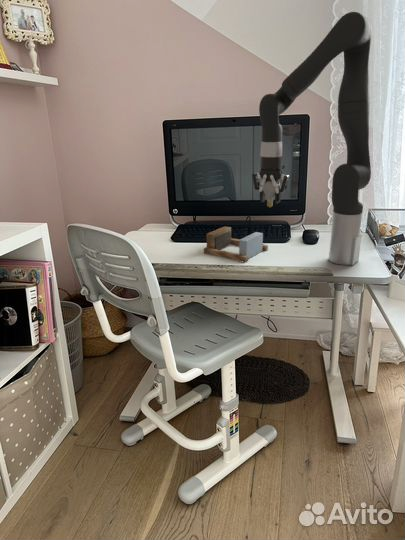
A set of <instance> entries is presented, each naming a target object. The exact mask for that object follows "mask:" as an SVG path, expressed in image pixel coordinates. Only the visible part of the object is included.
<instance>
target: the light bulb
mask: <svg viewBox="0 0 405 540" xmlns="http://www.w3.org/2000/svg"><path fill="white" fill-rule="evenodd" d="M276 184H277V183H276ZM263 191H264V193H265V198H266V206H267V207H268V208H272V207H273V204H274V199H275V193H276V191H275V187H273V183H272V182H270V181H267V182H265V184H264V186H263Z"/></svg>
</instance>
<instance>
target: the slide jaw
mask: <svg viewBox="0 0 405 540" xmlns="http://www.w3.org/2000/svg"><path fill="white" fill-rule="evenodd" d="M263 241H264V232H257V231H254V232H253V233H251V234H249V235H246V236H245V237H242V238H240V239H239V246H238V249H239V250H238V252H239V253H238V254H240V255H245V256H248V260H249V259H250V258H253V257H254V256H256V255H257V254H259V253H261V252H263V251H262V249H263V244H264V242H263Z"/></svg>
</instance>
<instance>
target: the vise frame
mask: <svg viewBox="0 0 405 540" xmlns="http://www.w3.org/2000/svg"><path fill="white" fill-rule="evenodd" d="M239 240H240V239H238V238H232V227H231V226H222V227H219V228H217V229H216V230H213V231H210V232H208V233H206V247H203V254H204V255H205V254H206V255H209V256H214V257H217V258H223V259H227V260H232V261H236V260H237V262H240V261H243V262H242V263H245V262H246V263H248V262H249V259H248V256H245V255H240V254H239V253H236V252H230V251H226V250H223V249H225V248H228V247H230V246H237V247H239ZM268 248H269V244H265V243H263V249H262V251H261V252H267V251H268V250H269V249H268ZM247 261H248V262H247Z"/></svg>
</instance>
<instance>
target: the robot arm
mask: <svg viewBox="0 0 405 540" xmlns="http://www.w3.org/2000/svg"><path fill="white" fill-rule="evenodd" d="M372 35H373V26H372V23H371V21H370V19H369V18H368V17H366V16H365V15H364V14H362V13H360V12H358V11H350V12H347V13H345V14H344V15H342V16H341V17H340V18H339V20H337V22H336V23H335V24H334V25H333V27H332V28H331V30H330V31H329V32H328V33H327V34H326V36H325V37H324V38H323V39H322V41H321V42H320V43H319V44H318V45H317V46H316V47H315V49H314V50H313V51H312V52H311V53H310V54H309V56H307V57H306V58H305V60H303V61H302V62H301V63H300V64H299V65H298V66H297V67H296V68H295V69H294V70H293V71H292V72H291V73H289V75H288V76H287V77H286V78H285V79H283V81H282V83H281V86H280V88H279V89H277V91H276V92H275V93H267V94H265V95H264V96H262V98H261V99H260V102H259V105H258V106H259V107H258V108H259V109H258V110H259V113H258V114H259V119H260V124H261V128H262V129H261V145H260V171H259V172H254V173H252V176H251V177H252V181H253V186H254V190H255V191H259V201H260V202H261V203H264V202H266V195H265V193H264V191H263V186H264V184H265V182H267V181H270V182H272V183H273V187H275V191H276V193H275V196H274V204H279V203H280V202H281V200H282V198H281V197H282V193H284V192H285V191H286V190H287V188H288V185H289V181H290V174H284V173H283V172H282V166H283V165H282V164H283V125H282V124H280V119H279V115H282V114H283V113H285V112H286V111H287V110H288V109H289V107H290V106H291V105H292V104H293V103H294V102H295V100H296V99H297V98H298V97H299V96H300V95H302V94H303V93H304V92H305V91H306V90H307V89H308V88H309V87H310V86H311V85H312V84H314V82H315V81H316V80H317V79H318V78H319V77H320V75H321V74H322V72H323V71H324V70H325V69H326V67H328V65H329V64H330V63H331V62H332V61H333V60H334V59H336V57H338V56H339V55H341V54H342V53H343V75H342V79H341V83H340V87H339V90H338V98H337V121H338V125H339V127H340V130H341V133H342V136H343V139H344V141H345V144H346V145H345V146H346V153H347V154H346V162H344V163H343V164H341V165H338V166H337V167H336V169H334V170H335V171H334V172H333V176H332V183H331V204H332V207H333V210H332V218H331V219H332V220H331V229H330V230H331V231H330V241H329V243H330V244H329V253H328V261H330V263H333V264H336V265H341V266H354V265H355V264H356V263H357V262H358V261H359V259H360V252H361V251H360V250H361V244H362V235H363V234H362V233H361V227H362V221H363V220H362V218H363V212H364V211H363V209H364V205H363V203H362V202H360V200H359V191H360V190H363V189H364V188H366V187H367V186H368V184H369V183H370V180H371V177H372V168H371V159H370V158H371V157H370V156H371V155H370V147H369V145H370V141H369V139H370V126H369V125H370V104H371V103H370V97H371V96H370V72H369V68H370V67H369V65H370V64H369V63H370V55H371V54H370V53H371V45H372V37H373V36H372ZM260 178H261V183H260ZM280 180H282V183H281V182H280ZM276 183H277V184H276Z"/></svg>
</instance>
